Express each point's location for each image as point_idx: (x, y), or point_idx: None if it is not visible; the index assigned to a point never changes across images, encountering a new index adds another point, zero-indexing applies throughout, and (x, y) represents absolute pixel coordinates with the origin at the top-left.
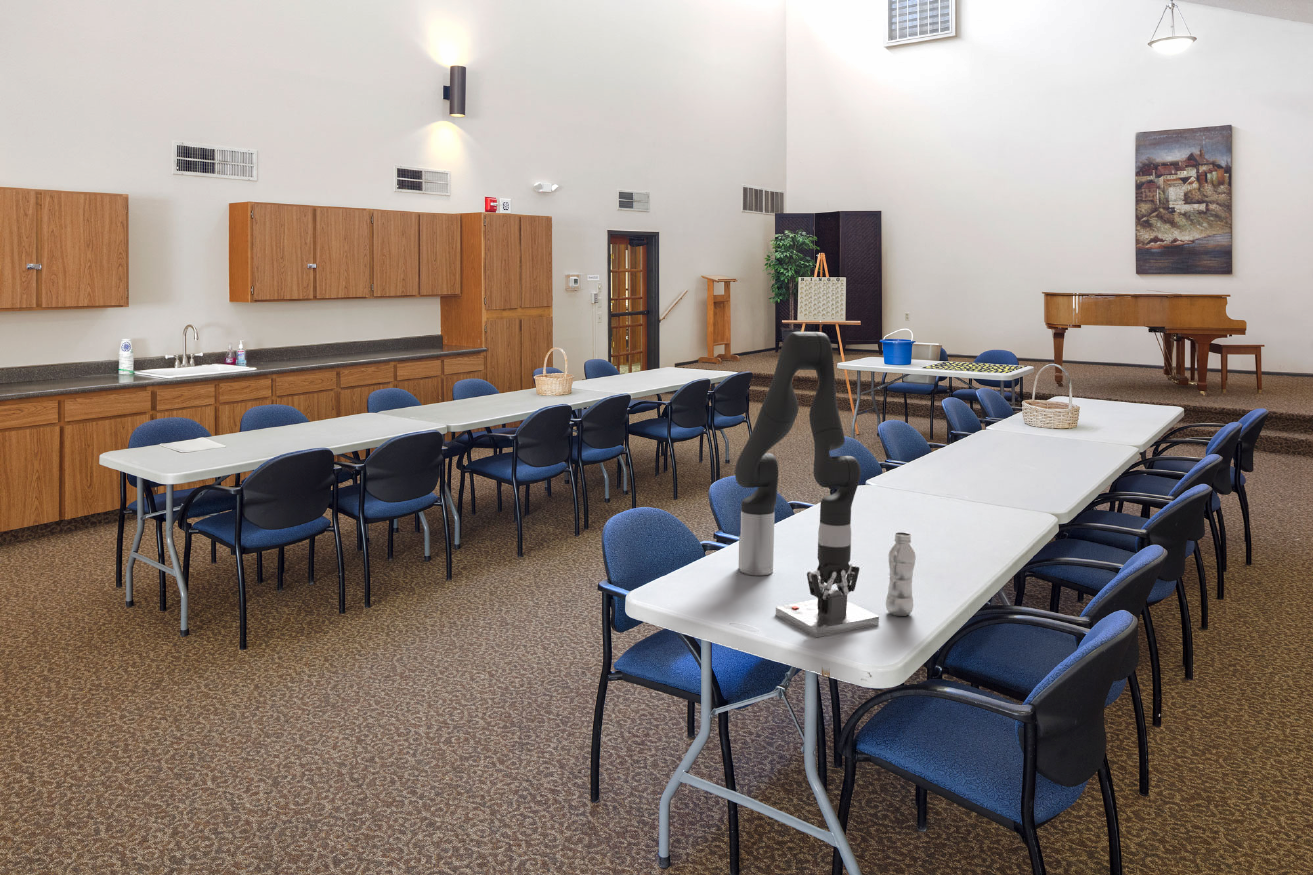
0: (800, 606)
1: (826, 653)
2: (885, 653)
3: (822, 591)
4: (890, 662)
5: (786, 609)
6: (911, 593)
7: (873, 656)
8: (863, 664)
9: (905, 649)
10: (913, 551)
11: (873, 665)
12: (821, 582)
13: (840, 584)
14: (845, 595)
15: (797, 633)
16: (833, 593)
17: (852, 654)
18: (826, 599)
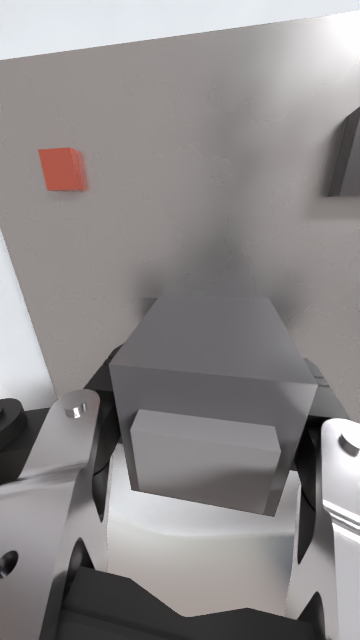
0: (116, 145)
1: None
2: (188, 514)
3: (95, 444)
4: (166, 531)
5: (9, 157)
6: None
7: (153, 508)
8: (111, 511)
9: (248, 528)
10: None
11: (127, 521)
12: (13, 559)
13: (297, 606)
14: (267, 510)
15: (37, 342)
16: (170, 496)
17: (117, 485)
18: (120, 442)
